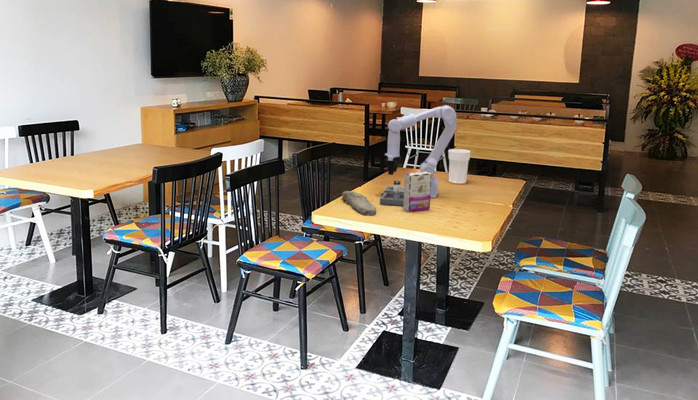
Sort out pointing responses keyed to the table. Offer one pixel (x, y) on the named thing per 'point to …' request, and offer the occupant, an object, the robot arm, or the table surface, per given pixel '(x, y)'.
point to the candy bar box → (417, 191)
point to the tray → (391, 200)
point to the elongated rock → (359, 203)
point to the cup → (458, 165)
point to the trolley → (391, 189)
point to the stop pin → (396, 190)
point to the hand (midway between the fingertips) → (392, 173)
